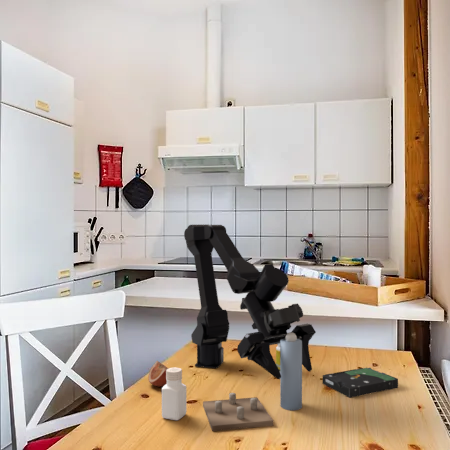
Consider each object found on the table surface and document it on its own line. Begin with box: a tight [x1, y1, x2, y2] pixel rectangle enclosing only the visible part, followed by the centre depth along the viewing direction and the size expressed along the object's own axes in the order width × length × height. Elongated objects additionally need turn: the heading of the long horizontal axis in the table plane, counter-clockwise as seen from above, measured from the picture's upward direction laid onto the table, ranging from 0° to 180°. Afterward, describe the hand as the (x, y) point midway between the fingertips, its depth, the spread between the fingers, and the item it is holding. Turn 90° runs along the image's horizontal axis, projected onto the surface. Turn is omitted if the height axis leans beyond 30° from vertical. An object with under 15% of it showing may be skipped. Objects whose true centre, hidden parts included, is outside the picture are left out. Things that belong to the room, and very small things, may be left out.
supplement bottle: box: [275, 343, 280, 372], centre depth 121 cm, size 5×5×8 cm
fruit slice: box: [147, 360, 170, 388], centre depth 111 cm, size 8×7×5 cm
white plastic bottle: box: [161, 366, 187, 421], centre depth 93 cm, size 4×4×10 cm
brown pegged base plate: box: [202, 392, 274, 432], centre depth 93 cm, size 12×12×3 cm
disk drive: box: [322, 367, 399, 398], centre depth 110 cm, size 10×3×15 cm
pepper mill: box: [279, 331, 303, 411], centre depth 98 cm, size 5×5×16 cm
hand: (295, 374), depth 97 cm, fingers open, 8 cm apart
